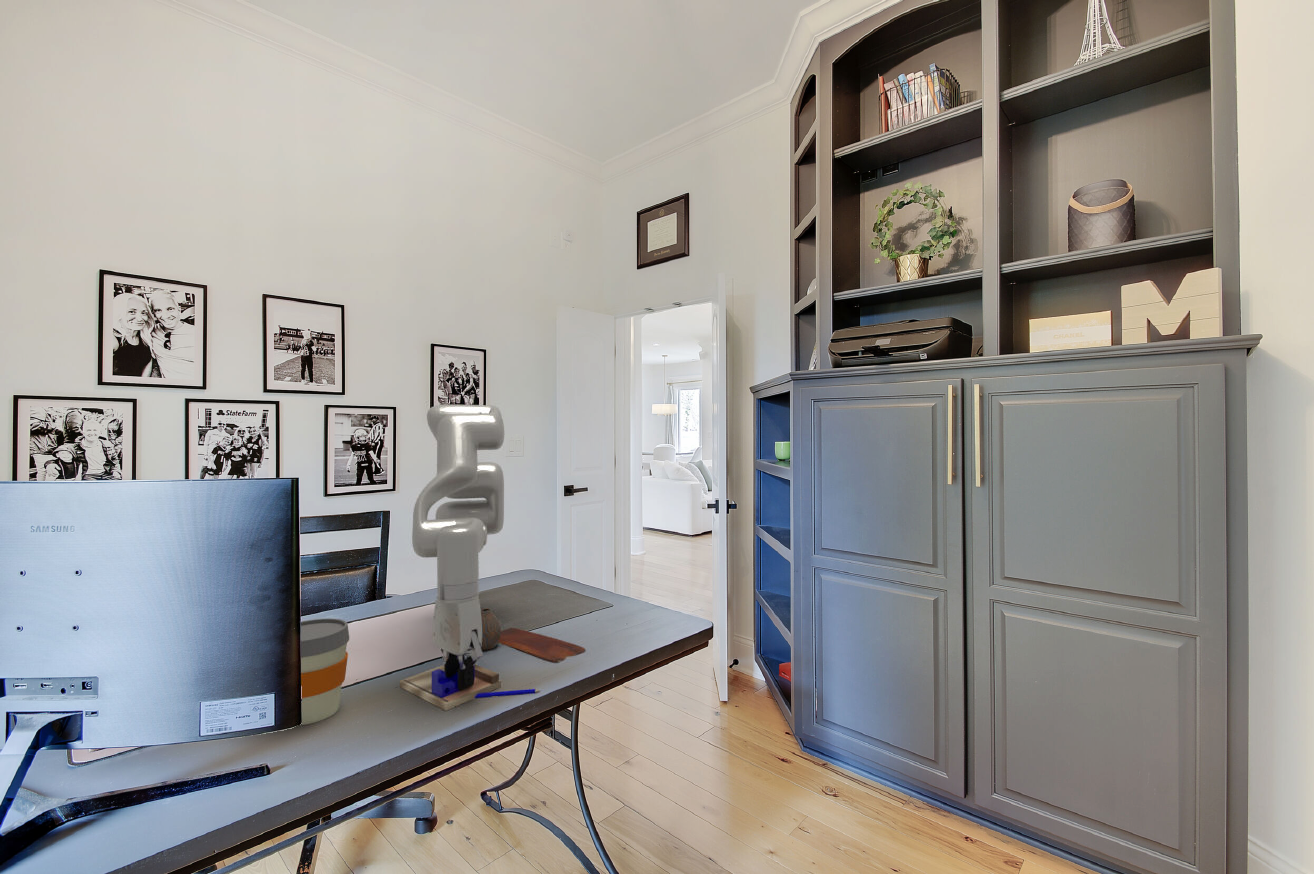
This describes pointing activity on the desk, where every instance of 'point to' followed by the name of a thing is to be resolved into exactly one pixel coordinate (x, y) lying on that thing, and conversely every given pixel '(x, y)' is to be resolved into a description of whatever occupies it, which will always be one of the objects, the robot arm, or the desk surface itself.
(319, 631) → the reusable coffee cup
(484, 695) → the pencil
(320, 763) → the desk surface
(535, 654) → the wooden tablet
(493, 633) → the vase
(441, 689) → the cable holder
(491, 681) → the maple board
